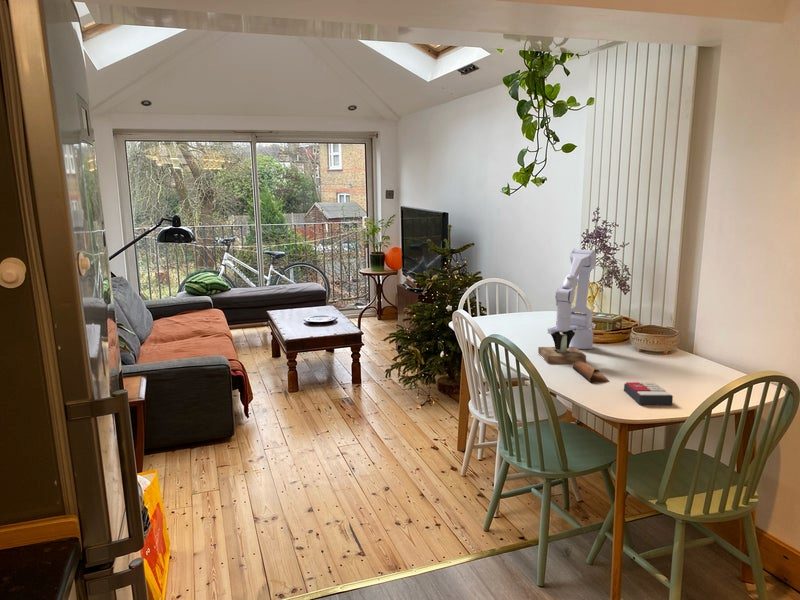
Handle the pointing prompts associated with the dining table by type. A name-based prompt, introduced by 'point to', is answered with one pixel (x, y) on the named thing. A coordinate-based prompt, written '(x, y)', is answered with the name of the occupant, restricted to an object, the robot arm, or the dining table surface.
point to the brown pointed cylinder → (590, 372)
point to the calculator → (648, 394)
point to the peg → (563, 345)
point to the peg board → (561, 355)
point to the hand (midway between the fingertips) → (561, 348)
